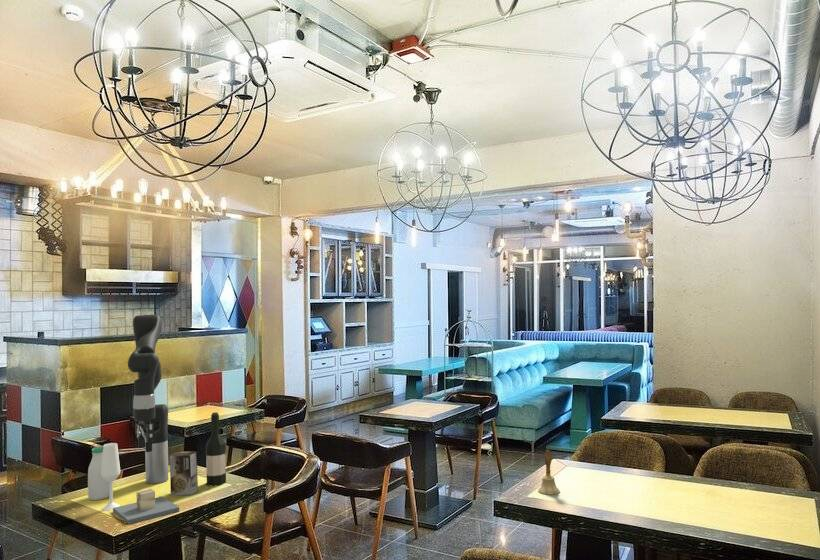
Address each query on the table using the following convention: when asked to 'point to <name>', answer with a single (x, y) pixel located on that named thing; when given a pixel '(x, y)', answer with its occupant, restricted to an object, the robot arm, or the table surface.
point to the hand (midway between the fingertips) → (145, 449)
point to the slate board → (145, 511)
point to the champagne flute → (110, 470)
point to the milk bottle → (97, 477)
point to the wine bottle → (215, 454)
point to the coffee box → (183, 473)
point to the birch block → (145, 499)
